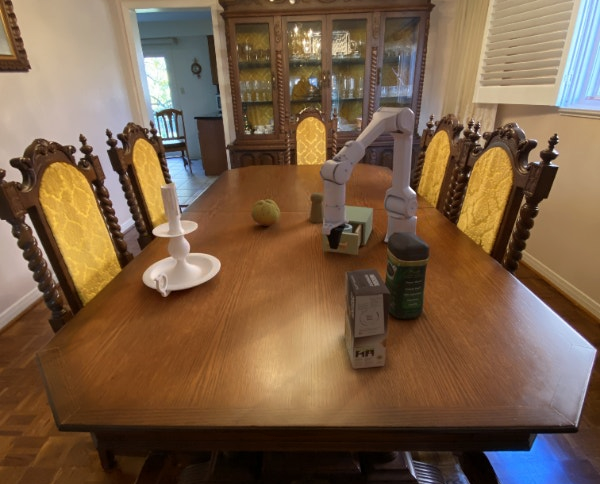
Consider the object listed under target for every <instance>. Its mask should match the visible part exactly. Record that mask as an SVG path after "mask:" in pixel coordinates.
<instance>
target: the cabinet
mask: <svg viewBox="0 0 600 484" xmlns="http://www.w3.org/2000/svg"><path fill="white" fill-rule="evenodd" d="M345 211H346V212H345V219H349V222H348V223H356V224H363V239H362V241H361V243H360V245H359V246H363V247H364V246H366V244H367V243H368V239H369V238H370V235H371V233H372V231H373V222H374V221H373V219H374V208H373V207H367V206H366V207H364V206H353V205H345Z"/></svg>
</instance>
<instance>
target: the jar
mask: <svg viewBox="0 0 600 484" xmlns="http://www.w3.org/2000/svg"><path fill="white" fill-rule="evenodd" d="M343 232H346V233H352V226H351V225H349V224H346V227H345V228H344V230H343Z"/></svg>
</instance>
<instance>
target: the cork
mask: <svg viewBox="0 0 600 484" xmlns="http://www.w3.org/2000/svg"><path fill="white" fill-rule="evenodd" d="M309 198H310V201H311V206H310V214H309V222H311V223H313V224H314V223H315V224H320V223H324V203H323V201H324V194H323V193H322V192H313V193H311V195H310V197H309Z"/></svg>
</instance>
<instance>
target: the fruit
mask: <svg viewBox="0 0 600 484" xmlns="http://www.w3.org/2000/svg"><path fill="white" fill-rule="evenodd" d="M250 212H251V213H250V214H251V218H252V219H253V221H254V222H255V223H257V225H260V226H265V227H270V226H272V225H274V224H276V223H277V222H278V221H279V220H280V218H281V210H280V207H279V206H278V205H277V203H276V202H275V201H274V200H273V199H267V198H266V199H265V200H264V199H259V200H257V201H256V202H255V203H254V204H253V205H252V209H251V211H250Z"/></svg>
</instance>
